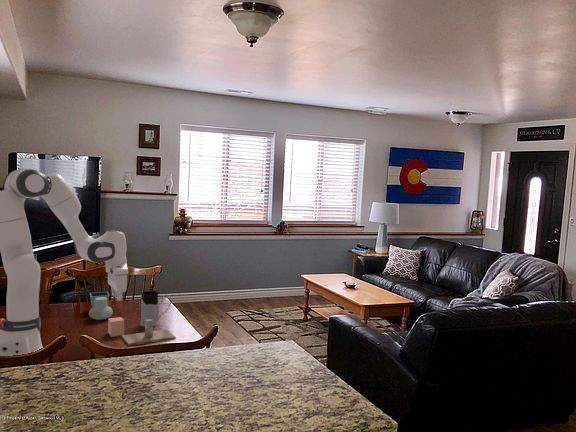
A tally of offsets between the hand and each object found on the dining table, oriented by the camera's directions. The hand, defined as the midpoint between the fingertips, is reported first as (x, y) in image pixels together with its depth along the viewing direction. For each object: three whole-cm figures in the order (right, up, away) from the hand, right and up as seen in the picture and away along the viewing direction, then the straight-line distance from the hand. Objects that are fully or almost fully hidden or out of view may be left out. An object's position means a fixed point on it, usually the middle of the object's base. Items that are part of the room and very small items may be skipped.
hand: (116, 298), depth 223 cm
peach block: (-1, -16, +1) cm, 16 cm away
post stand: (+15, -17, -3) cm, 23 cm away
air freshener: (-16, -14, +24) cm, 32 cm away
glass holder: (+12, -15, +18) cm, 27 cm away
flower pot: (-21, -13, +37) cm, 45 cm away
